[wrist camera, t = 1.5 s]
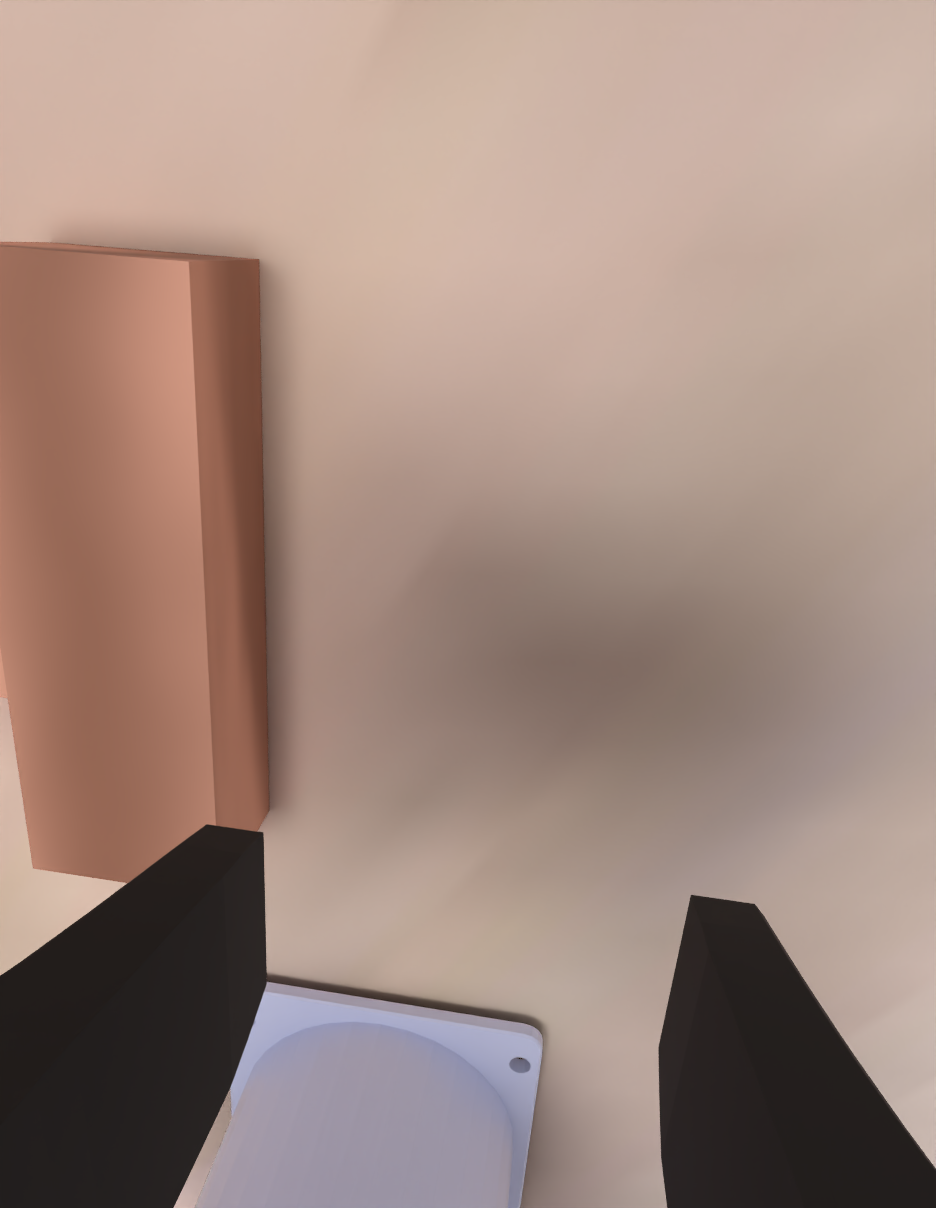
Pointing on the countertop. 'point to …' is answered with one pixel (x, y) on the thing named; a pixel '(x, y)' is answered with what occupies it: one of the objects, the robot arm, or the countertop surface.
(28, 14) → the countertop surface
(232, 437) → the t block
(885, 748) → the countertop surface
